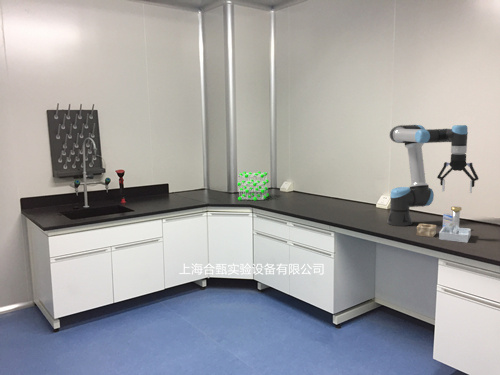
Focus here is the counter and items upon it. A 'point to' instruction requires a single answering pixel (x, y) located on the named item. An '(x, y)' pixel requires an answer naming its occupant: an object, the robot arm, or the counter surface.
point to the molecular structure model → (254, 183)
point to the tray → (461, 237)
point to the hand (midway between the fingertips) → (456, 192)
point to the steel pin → (455, 219)
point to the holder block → (426, 230)
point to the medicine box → (447, 220)
